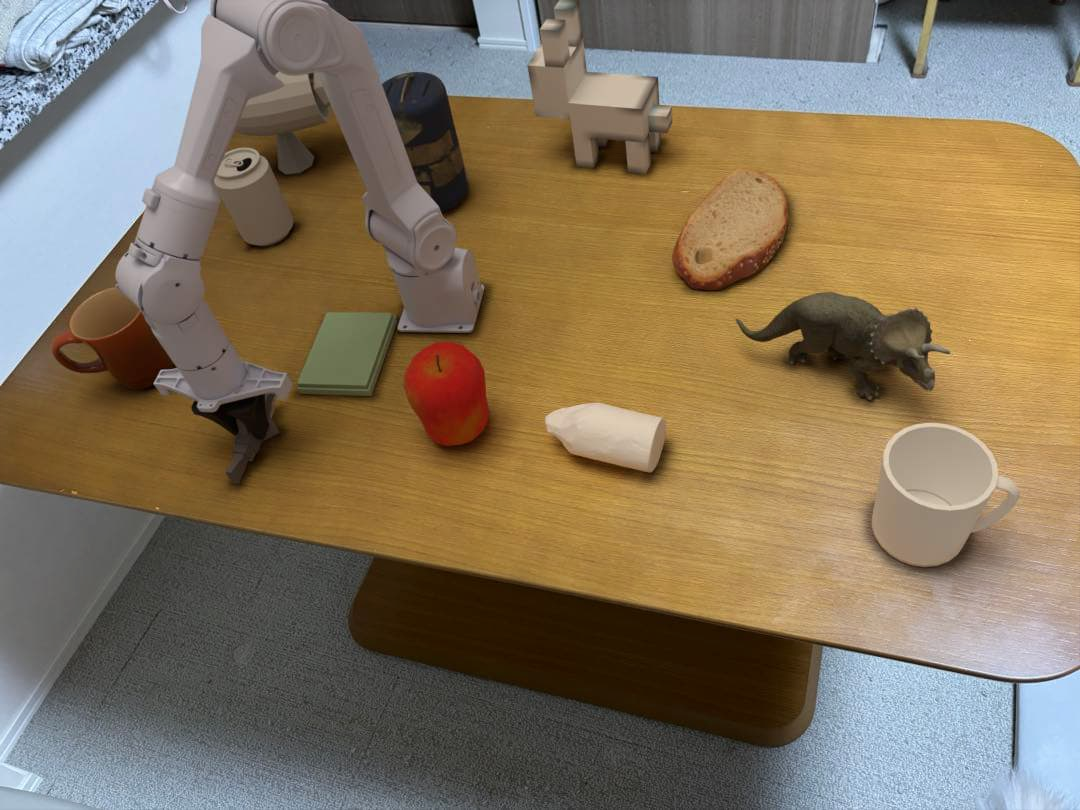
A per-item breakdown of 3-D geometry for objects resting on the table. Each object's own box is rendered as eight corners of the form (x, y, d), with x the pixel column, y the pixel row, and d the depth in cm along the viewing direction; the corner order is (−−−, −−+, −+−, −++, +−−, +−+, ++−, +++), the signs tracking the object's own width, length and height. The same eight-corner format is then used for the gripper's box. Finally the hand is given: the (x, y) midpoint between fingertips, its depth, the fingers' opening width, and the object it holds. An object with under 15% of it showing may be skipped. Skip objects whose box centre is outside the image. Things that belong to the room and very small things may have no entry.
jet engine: (340, 203, 127) (297, 93, 114) (231, 182, 134) (178, 76, 121) (392, 142, 135) (357, 32, 122) (286, 125, 142) (243, 20, 129)
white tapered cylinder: (560, 414, 97) (553, 380, 93) (667, 438, 93) (665, 404, 89) (540, 457, 94) (532, 425, 89) (649, 484, 90) (647, 451, 85)
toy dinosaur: (728, 349, 99) (730, 274, 91) (769, 304, 103) (775, 228, 94) (917, 440, 88) (940, 364, 80) (956, 385, 92) (983, 308, 83)
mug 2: (859, 558, 81) (875, 496, 73) (873, 480, 86) (890, 413, 78) (990, 590, 78) (1023, 528, 70) (998, 506, 83) (1029, 439, 75)
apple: (427, 399, 101) (400, 327, 92) (500, 394, 100) (479, 320, 91) (418, 461, 96) (388, 391, 87) (495, 457, 94) (473, 385, 85)
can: (284, 250, 122) (249, 178, 113) (235, 249, 124) (197, 178, 115) (303, 215, 127) (272, 143, 117) (256, 214, 128) (221, 143, 119)
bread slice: (760, 172, 118) (762, 148, 115) (831, 253, 107) (834, 228, 104) (634, 213, 116) (632, 190, 114) (692, 300, 105) (692, 277, 102)
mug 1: (175, 335, 114) (136, 275, 106) (190, 377, 109) (150, 318, 101) (84, 375, 112) (37, 317, 104) (94, 421, 106) (45, 363, 99)
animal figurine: (258, 491, 98) (236, 472, 93) (223, 485, 99) (200, 466, 95) (296, 396, 103) (277, 374, 99) (262, 392, 104) (242, 369, 100)
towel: (397, 321, 110) (394, 311, 109) (371, 396, 103) (367, 386, 101) (329, 320, 112) (325, 310, 110) (299, 394, 104) (294, 384, 103)
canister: (392, 214, 124) (353, 98, 110) (422, 173, 129) (388, 57, 115) (453, 224, 120) (420, 106, 107) (482, 181, 126) (454, 63, 112)
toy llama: (663, 176, 121) (657, 36, 105) (543, 162, 126) (521, 28, 111) (678, 143, 125) (674, 4, 109) (561, 131, 130) (542, -2, 115)
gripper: (118, 378, 88) (180, 458, 98) (252, 381, 85) (302, 464, 95) (149, 326, 92) (205, 408, 103) (277, 328, 89) (322, 412, 100)
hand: (253, 432), depth 99 cm, fingers closed on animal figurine, 2 cm apart
